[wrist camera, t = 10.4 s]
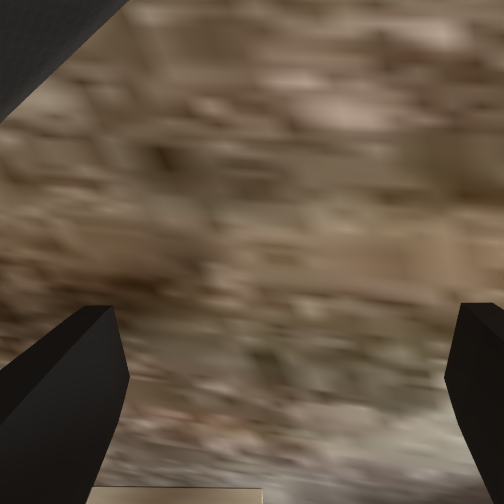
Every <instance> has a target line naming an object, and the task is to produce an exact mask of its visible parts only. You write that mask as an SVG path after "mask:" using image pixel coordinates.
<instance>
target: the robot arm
mask: <svg viewBox="0 0 504 504" xmlns="http://www.w3.org/2000/svg"><path fill="white" fill-rule="evenodd" d="M129 378H130V375H129V371H128V367H127V363H126V359H125V355H124V350H123V346H122V342H121V338H120V334H119V330H118V326H117V322H116V317H115V313H114V309H113V305H111V306H84V307H82V308H81V309H79V310H78V311H76V312H75V313H74V314H72V315H71V316H70V317H68V318H67V319H66V320H64V321H63V322H62V323H61V324H59V325H58V326H57V327H55V328H54V329H53V330H52V331H50V332H49V333H48V334H46V335H45V336H44V337H43V338H41V339H40V340H39V341H37V342H36V343H35V344H34V345H32V346H31V347H30V348H28V349H27V350H26V351H25V352H23V353H22V354H21V355H19V356H18V357H17V358H15V359H14V360H13V361H12V362H10V363H9V364H8V365H6V366H5V367H4V368H2V369H1V370H0V504H86V502H87V499H88V497H89V494H90V492H91V489H92V487H93V484H94V482H95V480H96V477H97V475H98V472H99V470H100V467H101V465H102V462H103V460H104V457H105V455H106V452H107V449H108V447H109V444H110V442H111V439H112V437H113V434H114V432H115V429H116V426H117V424H118V421H119V417H120V414H121V410H122V406H123V403H124V399H125V395H126V391H127V386H128V382H129ZM444 379H445V383H446V386H447V390H448V393H449V396H450V400H451V403H452V407H453V410H454V413H455V416H456V419H457V422H458V425H459V427H460V430H461V432H462V434H463V437H464V439H465V441H466V443H467V446H468V448H469V450H470V452H471V455H472V457H473V459H474V461H475V464H476V466H477V468H478V470H479V472H480V475H481V477H482V479H483V481H484V483H485V486H486V488H487V490H488V492H489V494H490V497H491V499H492V501H493V503H494V504H504V310H503V309H502V308H500V307H499V306H497V305H495V304H494V303H461V305H460V310H459V314H458V319H457V323H456V327H455V332H454V336H453V340H452V345H451V349H450V354H449V358H448V362H447V367H446V371H445V376H444Z"/></svg>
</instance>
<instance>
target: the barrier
mask: <svg viewBox="0 0 504 504" xmlns="http://www.w3.org/2000/svg"><path fill="white" fill-rule="evenodd" d="M127 1H129V0H0V123H1V122H2V121H3V120H4V119H5V118H6V117H7V116H8V115H9V114H10V113H11V112H12V111H13V110H14V109H15V108H16V107H18V106H19V105H20V104H21V103H22V102H23V101H24V100H25V99H26V98H27V97H28V96H29V95H30V94H31V93H32V92H33V91H34V90H35V89H36V88H37V87H38V86H40V85H41V84H42V83H43V82H44V81H45V80H46V79H47V78H48V77H49V76H50V75H51V74H52V73H53V72H54V71H55V70H56V69H57V68H58V67H59V66H60V65H62V64H63V63H64V62H65V61H66V60H67V59H68V58H69V57H70V56H71V55H72V54H73V53H74V52H75V51H76V50H77V49H78V48H79V47H80V46H81V45H82V44H84V43H85V42H86V41H87V40H88V39H89V38H90V37H91V36H92V35H93V34H94V33H95V32H96V31H97V30H98V29H99V28H100V27H101V26H102V25H103V24H104V23H106V22H107V21H108V20H109V19H110V18H111V17H112V16H113V15H114V14H115V13H116V12H117V11H118V10H119V9H120V8H121V7H122V6H123V5H124V4H125V3H126V2H127Z"/></svg>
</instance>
